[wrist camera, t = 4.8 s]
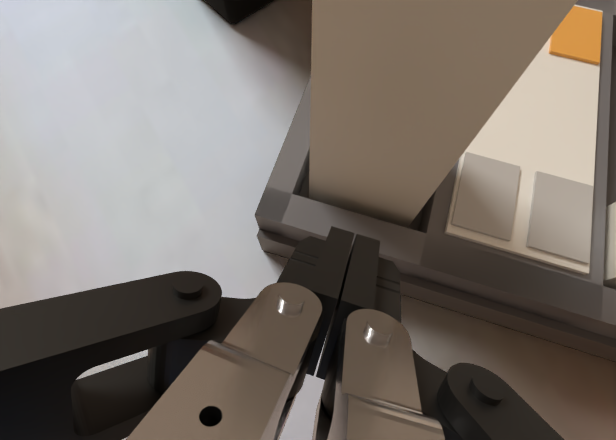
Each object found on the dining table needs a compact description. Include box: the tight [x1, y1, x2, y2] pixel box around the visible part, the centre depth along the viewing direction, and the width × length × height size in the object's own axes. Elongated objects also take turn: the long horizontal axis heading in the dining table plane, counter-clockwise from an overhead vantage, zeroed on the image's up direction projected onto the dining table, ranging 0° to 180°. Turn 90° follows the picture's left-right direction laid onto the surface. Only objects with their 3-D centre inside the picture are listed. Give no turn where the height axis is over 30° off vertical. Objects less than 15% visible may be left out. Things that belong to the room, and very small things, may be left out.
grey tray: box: [255, 0, 616, 362], centre depth 16 cm, size 16×18×4 cm
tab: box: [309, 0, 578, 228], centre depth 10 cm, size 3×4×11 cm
